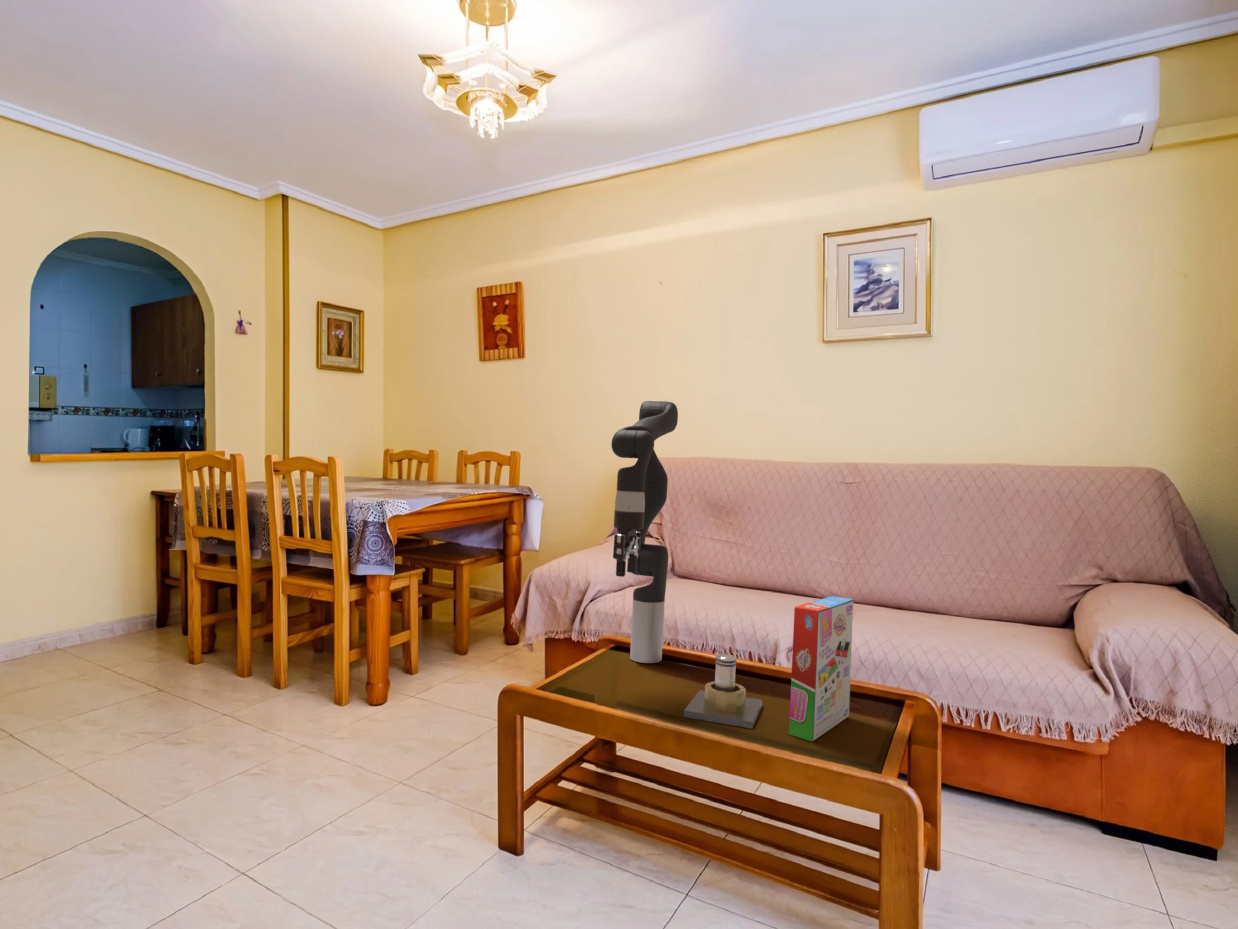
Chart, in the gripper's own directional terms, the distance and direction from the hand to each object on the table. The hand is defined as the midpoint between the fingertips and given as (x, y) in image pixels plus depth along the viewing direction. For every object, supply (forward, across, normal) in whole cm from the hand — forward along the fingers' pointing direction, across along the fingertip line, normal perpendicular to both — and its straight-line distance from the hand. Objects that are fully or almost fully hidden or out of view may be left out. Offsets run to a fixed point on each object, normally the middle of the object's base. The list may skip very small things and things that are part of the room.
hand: (626, 574), depth 167 cm
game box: (+28, -4, -48) cm, 56 cm away
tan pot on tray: (+28, -5, -27) cm, 39 cm away
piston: (+27, -5, -27) cm, 38 cm away
